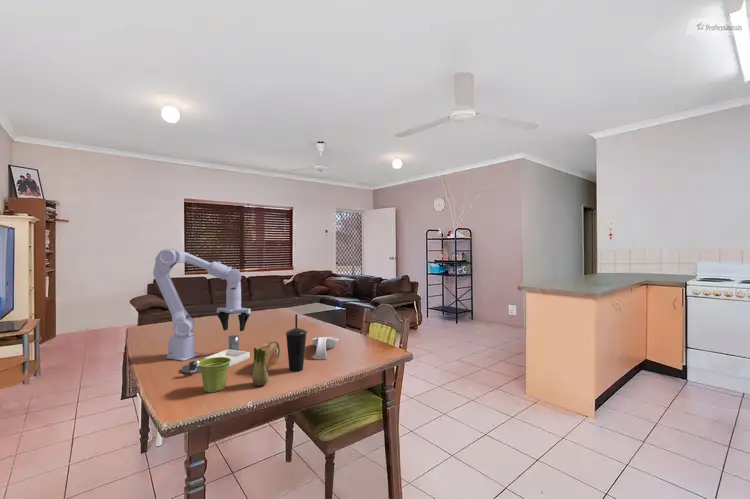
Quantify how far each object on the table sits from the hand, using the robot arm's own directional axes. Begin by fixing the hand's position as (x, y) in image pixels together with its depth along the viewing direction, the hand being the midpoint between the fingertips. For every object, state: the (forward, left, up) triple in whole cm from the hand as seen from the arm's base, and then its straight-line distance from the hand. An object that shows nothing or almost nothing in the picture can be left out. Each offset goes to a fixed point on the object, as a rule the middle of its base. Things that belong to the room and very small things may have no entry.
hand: (233, 330), depth 147 cm
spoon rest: (+34, +16, -10) cm, 39 cm away
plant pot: (+22, -32, -10) cm, 40 cm away
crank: (+4, -23, -8) cm, 25 cm away
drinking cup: (+36, -8, -10) cm, 38 cm away
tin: (+24, -9, -10) cm, 27 cm away
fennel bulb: (+33, -24, -10) cm, 42 cm away
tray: (+6, -10, -9) cm, 15 cm away
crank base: (+2, -21, -9) cm, 23 cm away
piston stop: (0, 0, -9) cm, 9 cm away
